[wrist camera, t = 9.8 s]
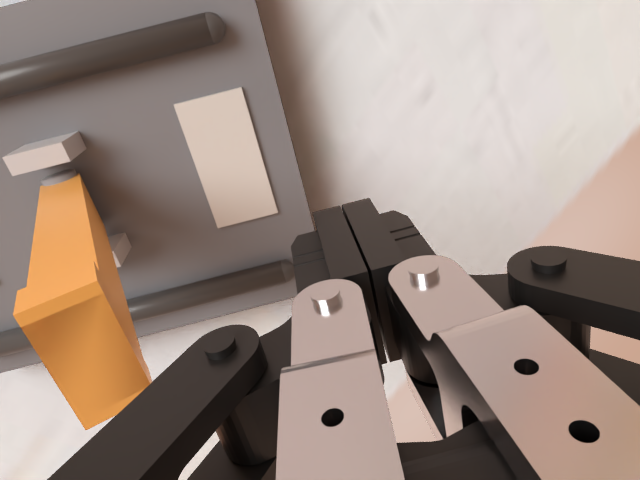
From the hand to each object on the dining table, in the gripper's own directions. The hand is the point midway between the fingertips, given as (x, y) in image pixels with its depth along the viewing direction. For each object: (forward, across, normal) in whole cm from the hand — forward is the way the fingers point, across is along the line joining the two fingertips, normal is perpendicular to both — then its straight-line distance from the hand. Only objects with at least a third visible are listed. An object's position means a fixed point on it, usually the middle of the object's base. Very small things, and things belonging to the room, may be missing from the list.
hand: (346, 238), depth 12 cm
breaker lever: (+10, +11, 0) cm, 14 cm away
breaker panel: (+13, +11, 0) cm, 17 cm away
